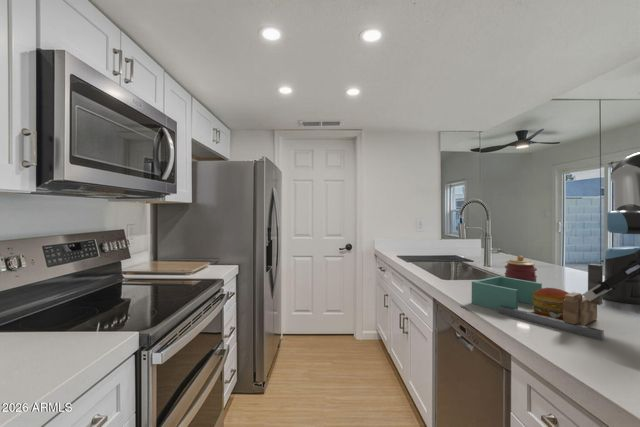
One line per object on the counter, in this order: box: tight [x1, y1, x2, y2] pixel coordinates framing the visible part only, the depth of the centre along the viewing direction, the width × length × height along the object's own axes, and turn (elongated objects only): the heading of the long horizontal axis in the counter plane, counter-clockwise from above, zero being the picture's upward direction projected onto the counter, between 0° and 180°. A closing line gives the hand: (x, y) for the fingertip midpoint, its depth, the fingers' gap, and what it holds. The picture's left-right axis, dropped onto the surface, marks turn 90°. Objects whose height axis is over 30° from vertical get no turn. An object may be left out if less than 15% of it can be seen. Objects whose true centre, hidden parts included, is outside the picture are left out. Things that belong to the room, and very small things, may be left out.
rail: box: [497, 306, 605, 341], centre depth 104 cm, size 2×30×2 cm, turn 34°
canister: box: [504, 255, 538, 282], centre depth 146 cm, size 13×13×18 cm
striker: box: [562, 263, 604, 326], centre depth 102 cm, size 23×6×20 cm, turn 124°
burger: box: [531, 287, 570, 320], centre depth 113 cm, size 13×14×10 cm
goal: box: [471, 275, 543, 311], centre depth 127 cm, size 22×17×9 cm
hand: (588, 296), depth 105 cm, fingers closed on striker, 3 cm apart
